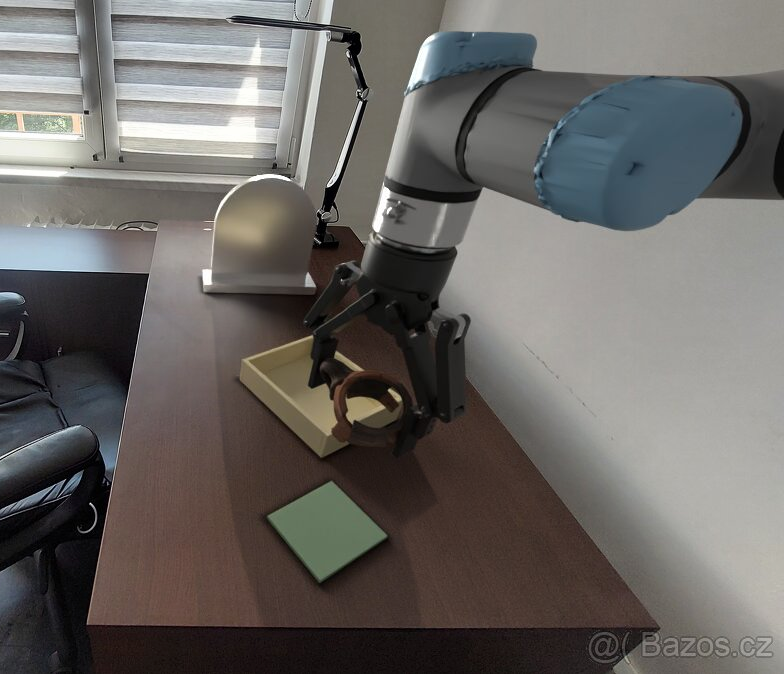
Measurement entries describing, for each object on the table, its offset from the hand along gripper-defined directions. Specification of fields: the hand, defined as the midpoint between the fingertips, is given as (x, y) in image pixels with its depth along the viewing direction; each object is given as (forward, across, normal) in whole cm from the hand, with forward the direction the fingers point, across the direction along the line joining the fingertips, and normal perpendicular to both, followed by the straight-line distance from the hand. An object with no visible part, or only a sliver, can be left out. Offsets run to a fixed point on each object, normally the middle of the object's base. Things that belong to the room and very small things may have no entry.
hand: (356, 415), depth 53 cm
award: (+18, -58, +33) cm, 69 cm away
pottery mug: (+1, 0, 0) cm, 1 cm away
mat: (+18, +2, -2) cm, 18 cm away
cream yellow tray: (+18, -18, +15) cm, 30 cm away
